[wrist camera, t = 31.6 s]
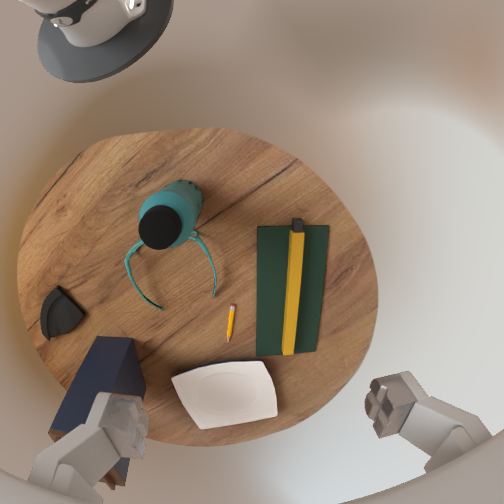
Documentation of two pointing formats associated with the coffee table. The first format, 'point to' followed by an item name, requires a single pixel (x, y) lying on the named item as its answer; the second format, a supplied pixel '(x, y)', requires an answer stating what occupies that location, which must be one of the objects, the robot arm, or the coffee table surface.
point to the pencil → (230, 321)
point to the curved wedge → (59, 314)
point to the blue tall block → (101, 380)
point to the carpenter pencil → (293, 285)
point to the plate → (227, 393)
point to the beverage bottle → (170, 215)
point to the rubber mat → (274, 287)
